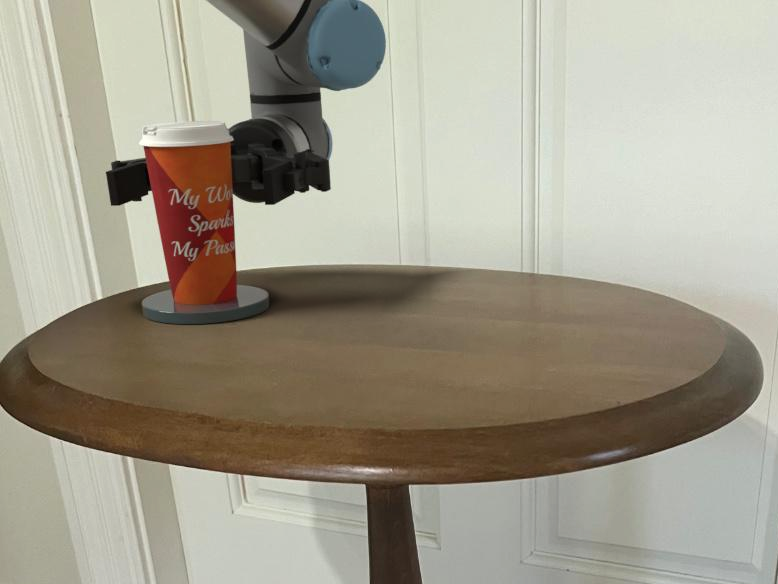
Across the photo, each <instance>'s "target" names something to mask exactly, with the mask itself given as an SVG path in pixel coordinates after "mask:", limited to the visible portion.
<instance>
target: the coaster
mask: <svg viewBox="0 0 778 584" xmlns="http://www.w3.org/2000/svg"><path fill="white" fill-rule="evenodd" d="M269 306H270V298H269V292H268V291H267V290H265V289H263V288H261V287H257V286H252V285H246V284H245V285H244V284H237V296H236V298H234V299H232V300H229V301H226V302H221V303H215V304H205V305H188V304H180V303H177V302H175V301H174V299H173V296H172V292H171V288H170V289H166V290H163V291H159V292H156V293H153V294H151V295H148V296H147V297H145V298H143V300H142V301H141V309H142V314H143V316H144V317H145V318H146V319H148V320H150V321H153V322H157V323H162V324H170V325H206V324H209V325H210V324H219V323H225V322H232V321H238V320H243V319H248V318H251V317H254V316H257V315H259V314H261V313H264V312H265V311H266V310H268V309H269Z"/></svg>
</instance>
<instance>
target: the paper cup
mask: <svg viewBox="0 0 778 584" xmlns="http://www.w3.org/2000/svg"><path fill="white" fill-rule="evenodd" d="M141 129H142V131H141V132H142V133H141V135H142V139H140V140H139V143H138V145H139V146H141V147H143V151H144V156H145V157H144V158H146V163H147V168H148V173H149V178H150V184H151V189H152V191H151V195H152V199H153V204H154V208H155V210H154V211H155V216H156V222H157V225H158V231H159V237H160V241H161V247H162V252H163V257H164V261H165V268H166V271H167V272H166V273H167V277H168V283H169V286H170V289H171V292H172V296H173V299H174V301H175V302H177V303H180V304H188V305H205V304H215V303H221V302H226V301H229V300H232V299H234V298H236V296H237V285H238V278H237V277H238V276H237V274H238V273H237V251H236V231H235V229H236V228H235V212H234V194H233V188H232V168H231V148H230V141H233V140H234V139H233V137H232V136H230V135H229V131H228V130H229V128H228V127H227V125H226V122H225V121H221V120H220V121H217V120H189V121H170V122H159V123H152V124H145V125H143V126H142V128H141Z"/></svg>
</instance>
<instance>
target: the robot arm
mask: <svg viewBox="0 0 778 584" xmlns="http://www.w3.org/2000/svg"><path fill="white" fill-rule="evenodd" d="M205 1H206V2H207V3H209V5H211V6H212V7H214V8H215V9H216V10H218V11H219V12H220V13H222V14H223V15H224V16H226V17H227V18H228V19H230V21H232V22H233V23H235V24H236V25H237V26H238V27H240V28H241V29H242V32H243V33H242V34H243V41H244V42H243V43H244V51H245V60H246V61H245V62H246V69H247V79H248V80H247V81H248V89H249V90H248V91H249V101H250V103H249V104H250V114H251V118H249V119H247V120H243V121H240V122H237V123H235V124H233V125H232V126H230V127H229V128H228V129H229V130H228V131H229V135H230V136H232V137H233V139H234V140H233V141H230V148H231V168H232V188H233V196H235V197H236V198H238V199H240V200H242V201H244V202H248V203H253V204H262V203H264V205H265V206H273V205H274V206H275V205H276V204H279V203H280V202H282V201H283V200H286V199H288V198H289V197H291V196H293V195H295V193H296V192H299V193H300V194H304V193H306V192H309V191H310V187H311V188H313V189H315V190H317V191H320V192H321V193H325V192H329V191H331V190H332V187H331V169H330V167H331V166H330V159H331V156H332V153H333V135H332V131H331V129H330V126H329V125H328V123H327V122H326V120H325V119H324V117H323V107H322V106H323V105H322V93H321V89H327V90H329V91H333V92H340V91H345V90H348V89H357V88H360V87H362V86H364V85H367V84H368V83H369V82H370V81H372V80H373V78H375V76H376V75H377V74H378V72H379V71H380V69H381V67H382V64H383V63H384V59H385V56H386V47H387V40H386V39H387V38H386V33H385V29H384V25H383V23H382V21H381V19H380V17H379V15H378V14H377V12H376V11H375V10H374V9H373V8H372V7H371V6H370V5H369V4H367V3H365V2H364V1H362V0H205ZM110 166H111V169H109V170H107V171H105V175H106V182H107V188H108V189H107V190H108V195H109V202H110V206H111V207H112V206H114V207H115V206H117V207H118V206H119V207H120V206H123V205H125V204H128V203H130V202H142V201H143V199H142V198H143V197H146V196H149V195H150V194H149V192H152V189H151V184H150V178H149V173H148V168H147V163H146V157H140V158H134V159H133V158H132V159H125V160H114V161H111V162H110Z"/></svg>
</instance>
